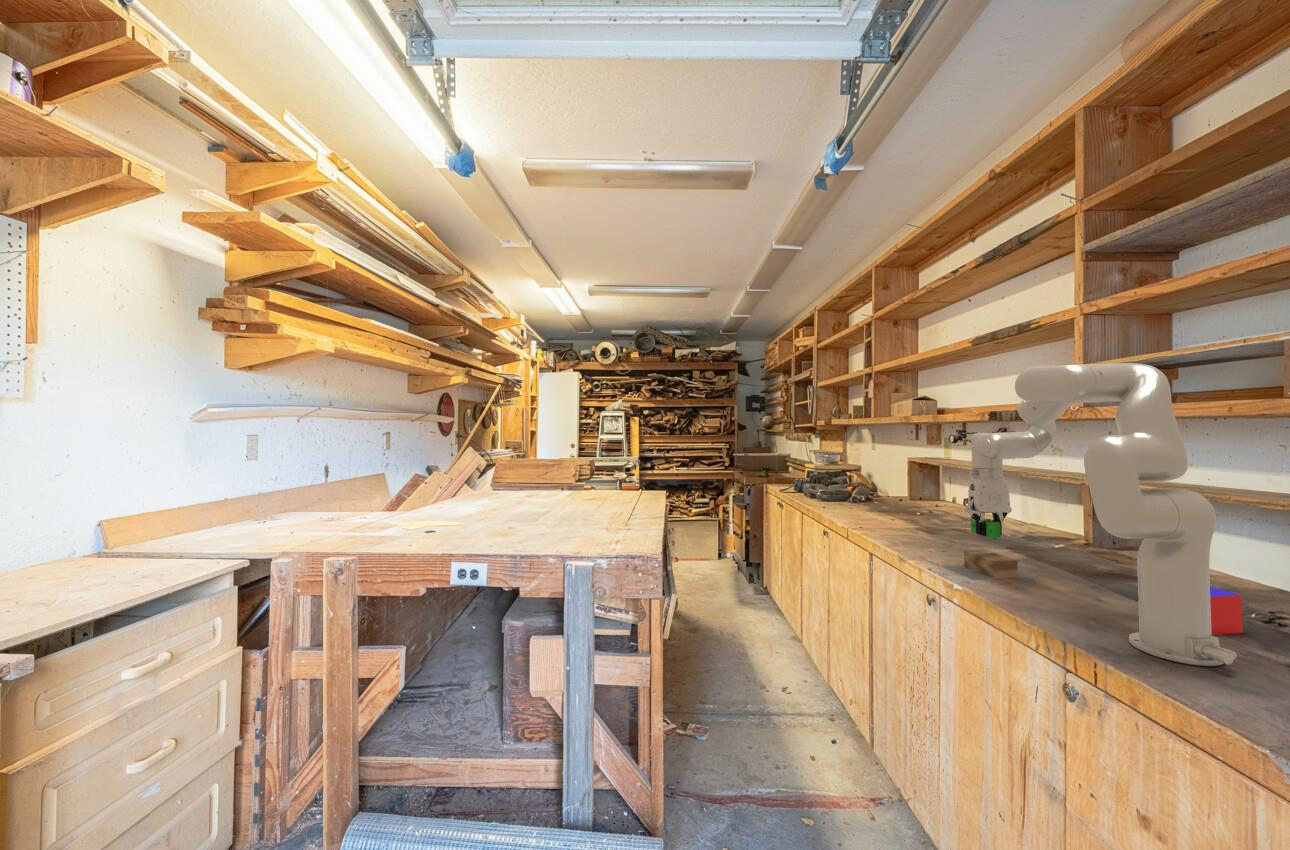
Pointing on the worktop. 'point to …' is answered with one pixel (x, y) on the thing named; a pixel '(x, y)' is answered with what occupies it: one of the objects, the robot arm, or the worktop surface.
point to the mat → (977, 576)
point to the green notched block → (988, 528)
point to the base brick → (991, 564)
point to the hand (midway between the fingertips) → (988, 534)
